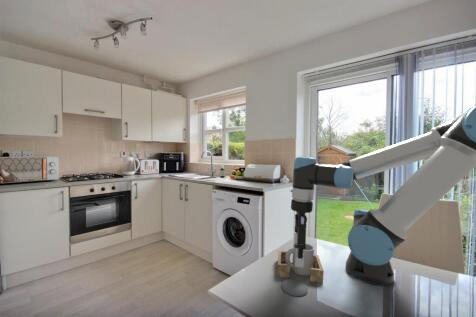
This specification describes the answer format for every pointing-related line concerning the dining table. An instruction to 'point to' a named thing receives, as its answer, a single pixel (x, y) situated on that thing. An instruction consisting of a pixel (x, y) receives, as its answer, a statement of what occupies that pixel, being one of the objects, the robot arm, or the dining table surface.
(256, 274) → the dining table surface
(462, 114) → the robot arm
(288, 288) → the coaster
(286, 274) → the wooden brackets
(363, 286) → the dining table surface
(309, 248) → the cup
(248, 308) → the dining table surface
